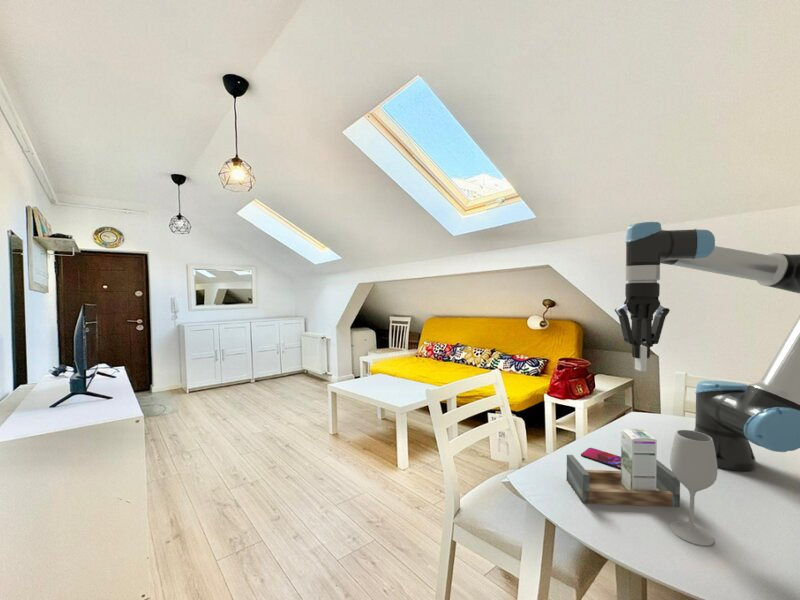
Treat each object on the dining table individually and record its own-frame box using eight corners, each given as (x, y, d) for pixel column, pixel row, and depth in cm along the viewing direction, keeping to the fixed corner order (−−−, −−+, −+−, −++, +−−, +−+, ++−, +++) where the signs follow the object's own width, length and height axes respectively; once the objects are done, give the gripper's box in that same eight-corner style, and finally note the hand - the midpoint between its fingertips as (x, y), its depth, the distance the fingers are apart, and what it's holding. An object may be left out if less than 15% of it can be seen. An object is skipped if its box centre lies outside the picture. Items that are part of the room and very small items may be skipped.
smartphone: (589, 446, 114) (644, 463, 103) (589, 449, 114) (644, 466, 103) (579, 454, 109) (636, 473, 98) (579, 457, 109) (636, 476, 98)
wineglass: (659, 522, 78) (661, 428, 77) (691, 520, 79) (694, 427, 78) (690, 548, 71) (693, 444, 70) (725, 545, 71) (729, 442, 71)
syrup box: (657, 498, 86) (658, 439, 85) (631, 496, 86) (632, 438, 86) (643, 485, 91) (645, 429, 91) (619, 483, 92) (620, 428, 91)
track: (652, 483, 94) (653, 457, 94) (679, 506, 84) (680, 477, 84) (566, 480, 96) (566, 454, 95) (582, 503, 86) (583, 474, 85)
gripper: (658, 281, 98) (657, 367, 99) (609, 282, 99) (608, 366, 100) (678, 281, 90) (676, 373, 91) (624, 282, 91) (622, 373, 92)
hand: (640, 370), depth 96 cm, fingers closed
